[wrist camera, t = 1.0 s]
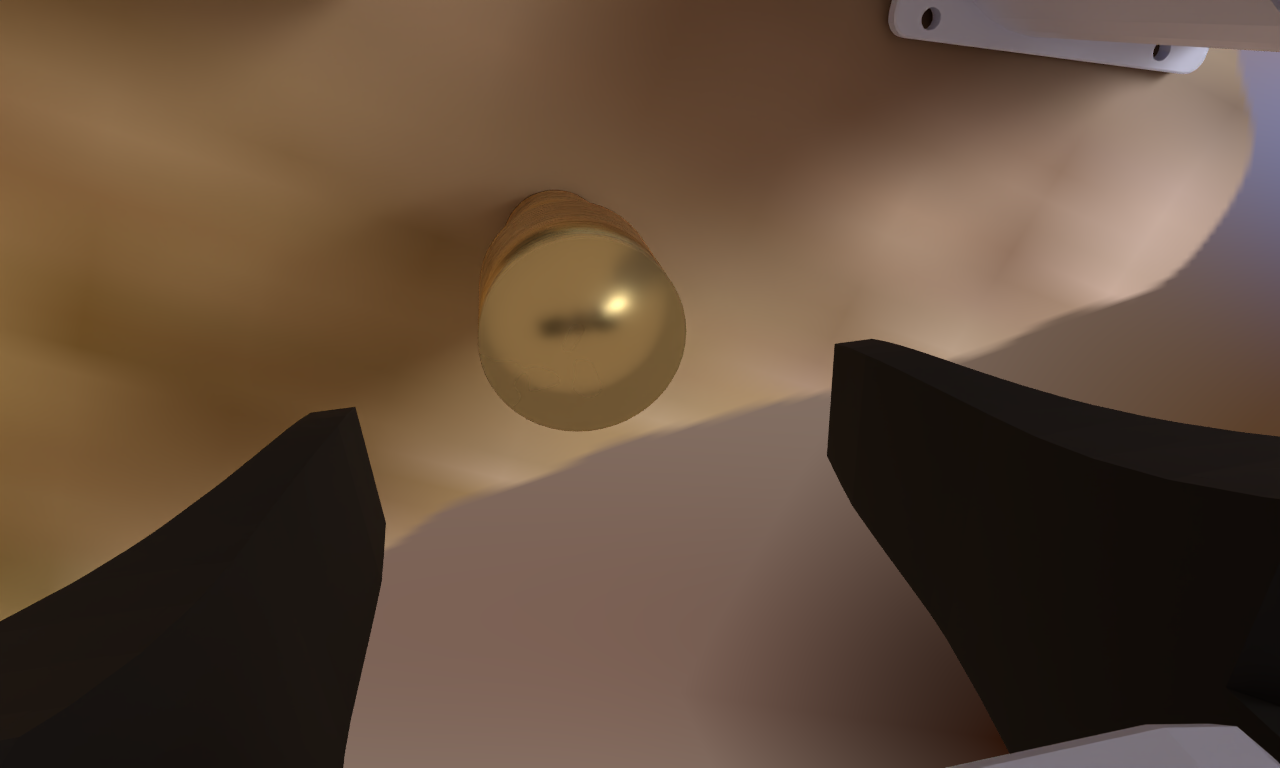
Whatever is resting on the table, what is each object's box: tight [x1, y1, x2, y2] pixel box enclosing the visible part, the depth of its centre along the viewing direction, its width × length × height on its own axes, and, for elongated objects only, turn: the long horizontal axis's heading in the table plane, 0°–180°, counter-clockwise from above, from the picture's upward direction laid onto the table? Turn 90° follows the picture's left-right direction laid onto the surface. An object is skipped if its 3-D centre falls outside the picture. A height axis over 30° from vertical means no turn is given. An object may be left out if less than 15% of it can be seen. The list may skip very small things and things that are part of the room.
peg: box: [478, 190, 686, 431], centre depth 17 cm, size 4×4×7 cm
